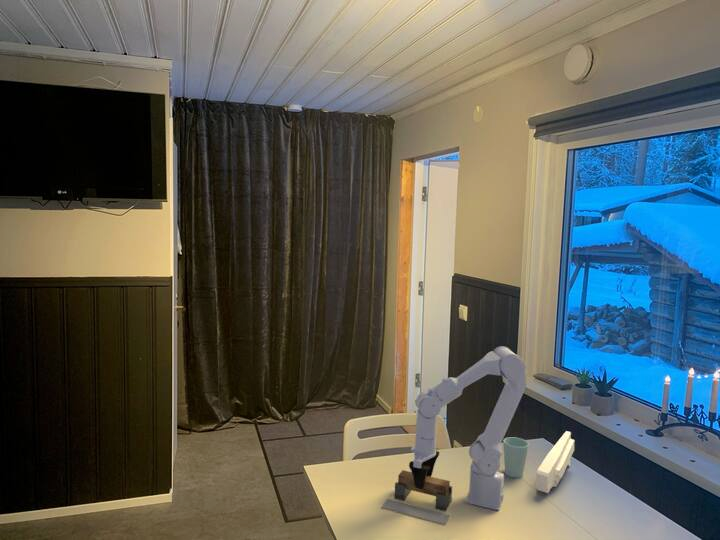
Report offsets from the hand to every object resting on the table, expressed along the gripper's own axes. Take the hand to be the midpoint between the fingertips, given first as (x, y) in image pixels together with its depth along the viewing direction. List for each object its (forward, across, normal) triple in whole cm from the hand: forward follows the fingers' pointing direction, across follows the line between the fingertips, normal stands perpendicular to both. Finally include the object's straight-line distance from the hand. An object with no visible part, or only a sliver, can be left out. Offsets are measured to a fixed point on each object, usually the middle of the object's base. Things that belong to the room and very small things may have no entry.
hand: (423, 482), depth 153 cm
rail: (+2, 0, 0) cm, 2 cm away
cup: (+5, -29, +21) cm, 36 cm away
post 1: (+5, 0, -6) cm, 8 cm away
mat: (+5, +7, 0) cm, 9 cm away
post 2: (+5, 0, +6) cm, 8 cm away
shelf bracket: (+5, -31, +33) cm, 46 cm away
